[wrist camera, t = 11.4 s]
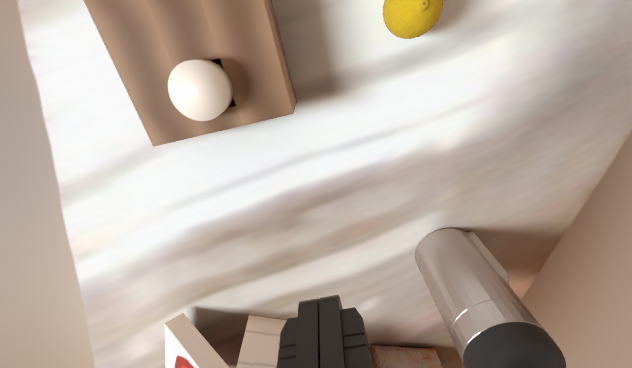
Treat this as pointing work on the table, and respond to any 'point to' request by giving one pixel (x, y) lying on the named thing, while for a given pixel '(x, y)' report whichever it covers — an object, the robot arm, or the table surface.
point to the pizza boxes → (203, 361)
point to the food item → (404, 357)
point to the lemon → (411, 16)
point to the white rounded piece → (200, 89)
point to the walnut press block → (196, 43)
